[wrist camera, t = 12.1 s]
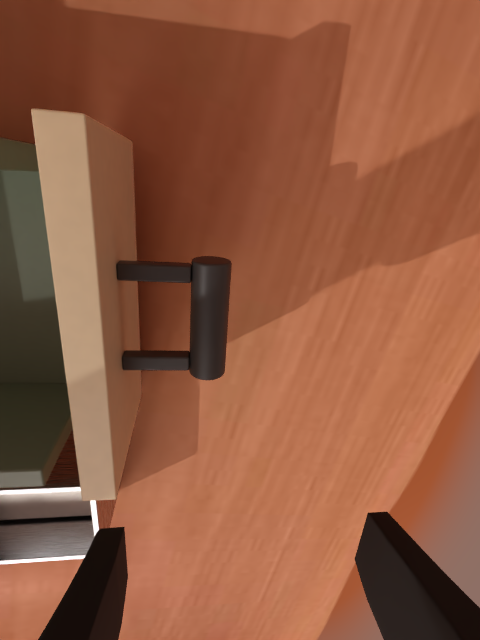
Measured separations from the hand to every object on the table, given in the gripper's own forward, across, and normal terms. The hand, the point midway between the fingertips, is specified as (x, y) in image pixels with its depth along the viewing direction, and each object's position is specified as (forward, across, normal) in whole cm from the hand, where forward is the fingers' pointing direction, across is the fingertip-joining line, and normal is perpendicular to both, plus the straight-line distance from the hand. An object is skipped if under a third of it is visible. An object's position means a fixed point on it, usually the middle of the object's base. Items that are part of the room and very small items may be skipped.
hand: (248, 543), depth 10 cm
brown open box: (+10, +10, +7) cm, 16 cm away
